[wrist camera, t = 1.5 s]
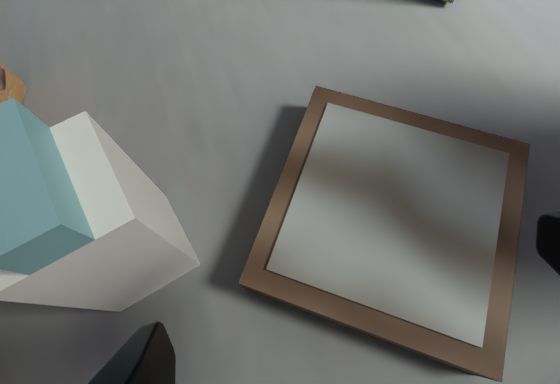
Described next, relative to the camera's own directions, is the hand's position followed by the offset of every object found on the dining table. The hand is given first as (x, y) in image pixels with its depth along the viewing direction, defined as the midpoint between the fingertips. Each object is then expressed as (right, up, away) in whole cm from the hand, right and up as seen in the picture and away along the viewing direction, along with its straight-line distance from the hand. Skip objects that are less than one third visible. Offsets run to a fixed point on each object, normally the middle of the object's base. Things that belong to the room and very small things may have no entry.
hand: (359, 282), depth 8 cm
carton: (-11, -2, +14) cm, 18 cm away
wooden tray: (+5, 0, +15) cm, 15 cm away
